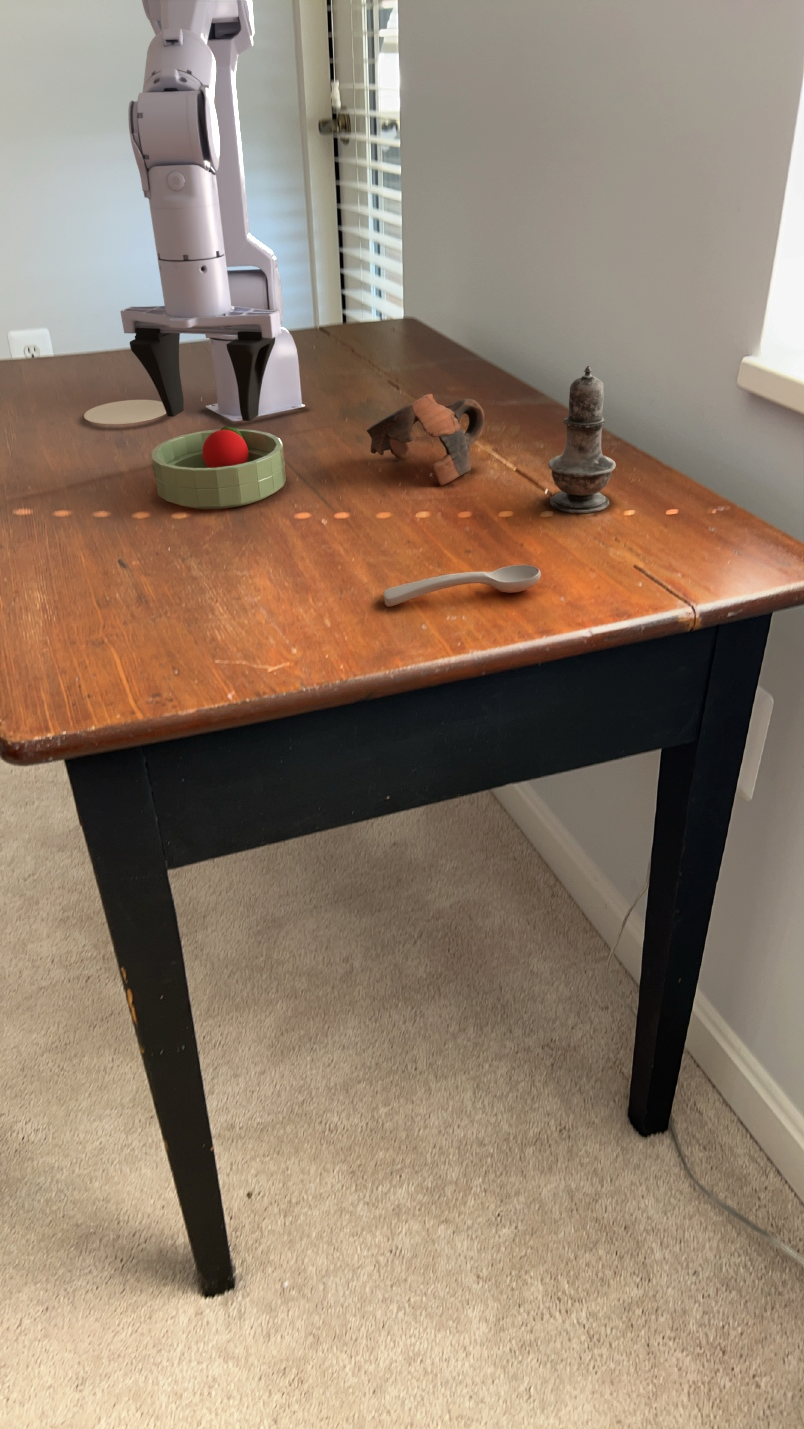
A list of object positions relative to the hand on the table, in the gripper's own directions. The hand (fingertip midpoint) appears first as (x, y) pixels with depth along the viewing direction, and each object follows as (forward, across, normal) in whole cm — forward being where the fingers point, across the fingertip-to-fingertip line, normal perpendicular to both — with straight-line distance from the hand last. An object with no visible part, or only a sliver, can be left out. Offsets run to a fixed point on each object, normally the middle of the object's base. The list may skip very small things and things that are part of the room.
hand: (212, 415), depth 93 cm
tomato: (+5, 0, 0) cm, 5 cm away
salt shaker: (+7, +34, +4) cm, 35 cm away
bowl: (+7, 0, 0) cm, 7 cm away
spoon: (+7, +28, -17) cm, 34 cm away
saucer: (+7, -22, +20) cm, 31 cm away
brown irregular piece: (+7, +18, +10) cm, 22 cm away
